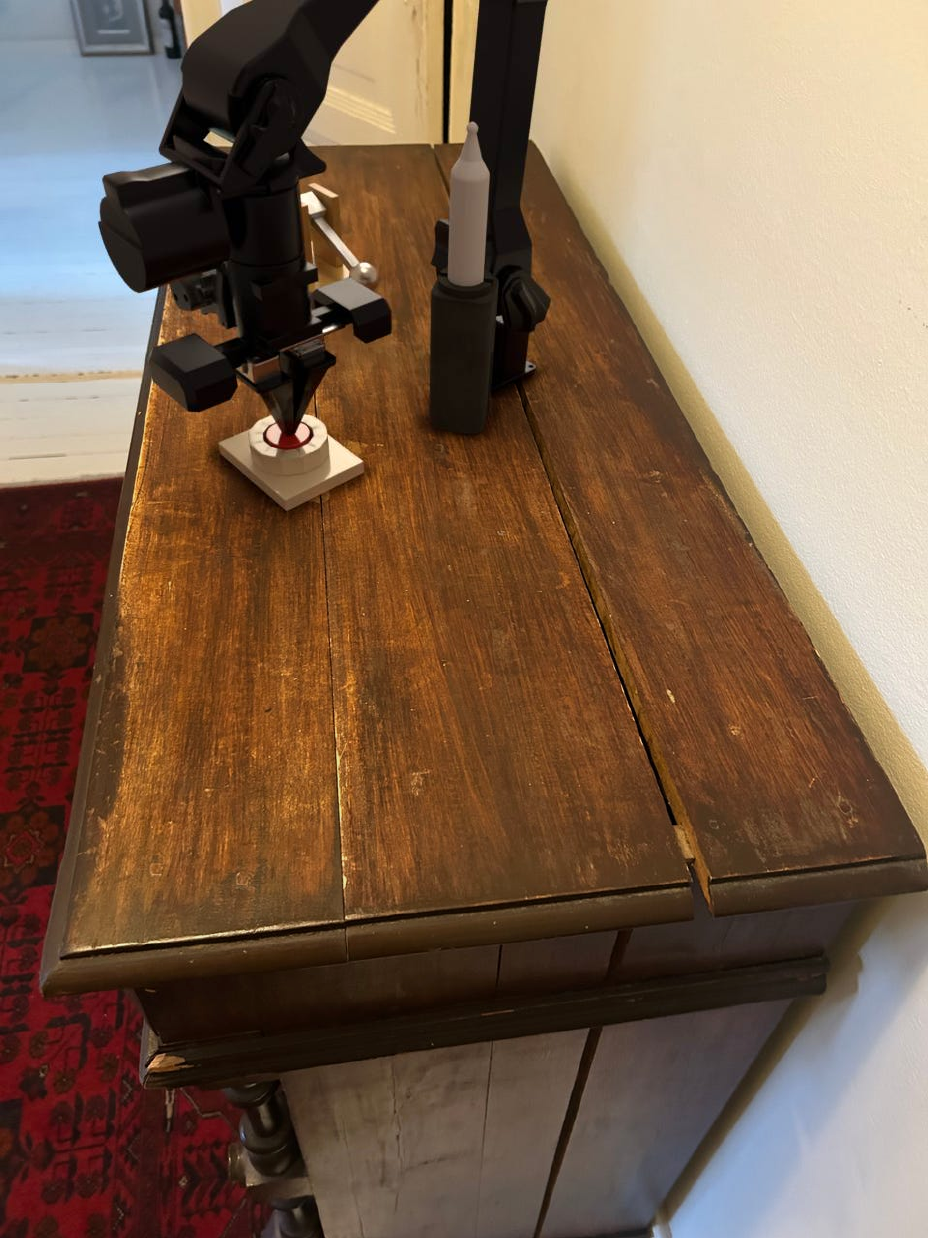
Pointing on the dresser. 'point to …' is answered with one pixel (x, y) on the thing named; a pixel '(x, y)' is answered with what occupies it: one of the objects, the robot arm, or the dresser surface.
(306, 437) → the button
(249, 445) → the button block
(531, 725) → the dresser surface
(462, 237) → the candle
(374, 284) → the tap lever
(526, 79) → the robot arm
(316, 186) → the tap bracket
